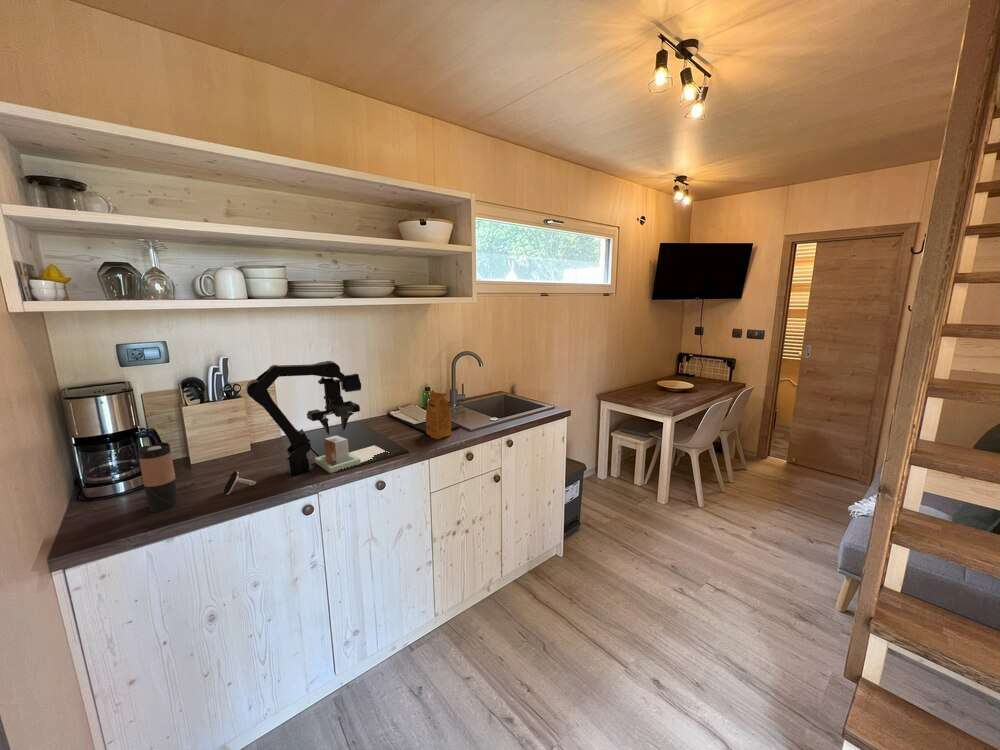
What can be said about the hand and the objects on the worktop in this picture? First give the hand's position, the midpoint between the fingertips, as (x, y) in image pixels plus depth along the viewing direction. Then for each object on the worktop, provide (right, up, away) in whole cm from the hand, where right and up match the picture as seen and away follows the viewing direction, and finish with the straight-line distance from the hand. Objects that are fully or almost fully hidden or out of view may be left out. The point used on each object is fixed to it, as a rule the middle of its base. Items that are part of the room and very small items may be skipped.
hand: (336, 432), depth 157 cm
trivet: (+9, -11, +12) cm, 18 cm away
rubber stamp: (-26, -19, -20) cm, 38 cm away
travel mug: (-42, -19, -30) cm, 55 cm away
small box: (0, -13, +2) cm, 13 cm away
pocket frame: (0, -13, +2) cm, 13 cm away
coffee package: (+35, -7, +35) cm, 50 cm away
